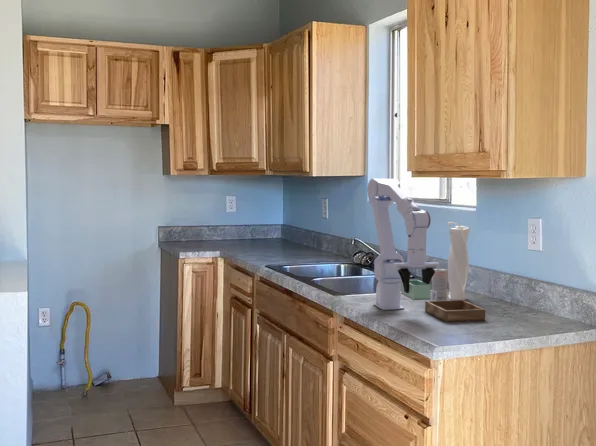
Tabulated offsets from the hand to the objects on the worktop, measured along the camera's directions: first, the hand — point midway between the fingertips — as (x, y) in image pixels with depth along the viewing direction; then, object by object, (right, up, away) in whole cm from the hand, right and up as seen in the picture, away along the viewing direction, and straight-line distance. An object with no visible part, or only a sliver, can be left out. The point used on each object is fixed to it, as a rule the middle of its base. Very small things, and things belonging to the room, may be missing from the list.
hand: (415, 292), depth 216 cm
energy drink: (+13, -7, +25) cm, 29 cm away
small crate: (0, -2, 0) cm, 2 cm away
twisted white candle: (+21, -6, +34) cm, 40 cm away
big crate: (+13, -8, +5) cm, 16 cm away
